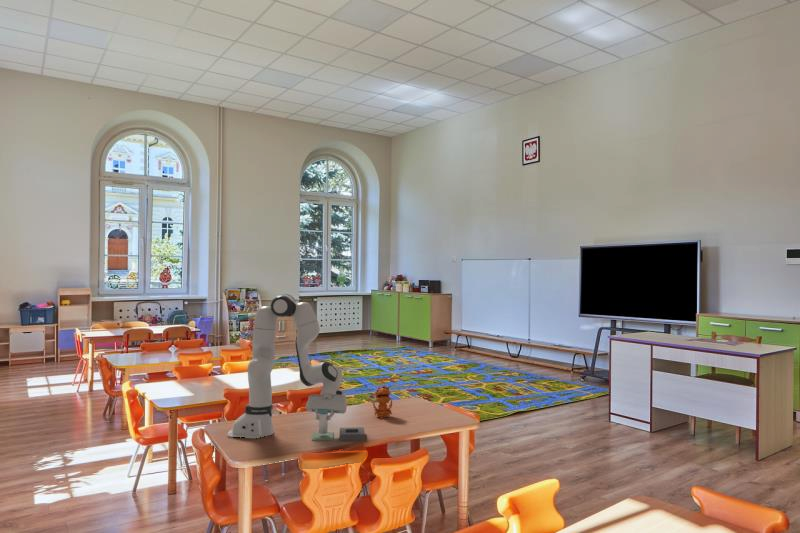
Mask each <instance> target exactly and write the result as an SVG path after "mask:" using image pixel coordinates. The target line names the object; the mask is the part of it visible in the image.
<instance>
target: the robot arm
mask: <svg viewBox="0 0 800 533" xmlns="http://www.w3.org/2000/svg"><path fill="white" fill-rule="evenodd" d="M279 317H280V318H284V317H286V318H288V317H290V318H292V319H293V321H294V324H295V327H296V333H297V336H296V339H295V342H294V343H295V349H296V355H297V362H298V367H299V368H298V369H299V380H300V382H301V383H302V384H303V385H305V386H306V387H311V386H315V385H316V384H320V383H321V384H322V387H321V391H320V394H318V393H316V394H315V393H313V394H310V395H309V396H308V399H307V402H306V404H305V409H306V411H307V412H309V413H310V412H311V413H315V414H316V416H315V420H317V421H319V410H320V409H328V416H327V420H328V421H331V420H332V417H334V415H335V414H341V415H342V414H346V413H347V408H348V404H347V395H346V393H345V391H342V390H340V387H341V384H342V381H343V370H342V368H341V367H340V366H338V365H336V364H332V363H331V362H329V361H322V362H318V363H317V364H316V363H315V364H313V365H311V363H310V359H309V358H310V357H309V353H308V349H309V346H310V344H311V343H312V342H314V340H315V339H317V337H318V336H319V334H320V324H319V321H318V318H317V315H316V313H315V311H314V308H313V307H312V305H311V304H310V303H309V302H307V301H302V302H300V301H299V302H296V300H295V298H294V297H293V296H292V295H291V294H288V293H281V294H278V295H276V296H275V297H274V298H273V299H272V300H271V303H270V305H263V306H260V307H258V308H257V310H256V313H255V317H254V321H253V329H252V341H251V344H252V345H251V346H252V359H251V360H250V361H249V363H248V364H247V380H248V381H247V382H248V390H249V392H248V393H249V394H248V403H247V404H245V406H244V413H242V414H241V415H240V416H239V417H238V418H236V419H235V421H234V422H233V425H232V427H231V429H230V430H229V431H228V432H227V437H229V438H233V437H240V438H239V439H242V438H241V437H245V438H244V439H256V438H257V439H261V438H264V436H265V437H269V436H271V435H274V434H275V430H274V429H275V428H274V424H273V412H274V411H273V409H274V408H273V404H272V403H273V402H272V401H273V400H272V398H273V387H272V379H271V378H272V376H271V372H272V371H273V369H274V368H275V367H274V366H275V343H276V332H277V330H276V329H277V322H278V319H279ZM260 437H261V438H260Z"/></svg>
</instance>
